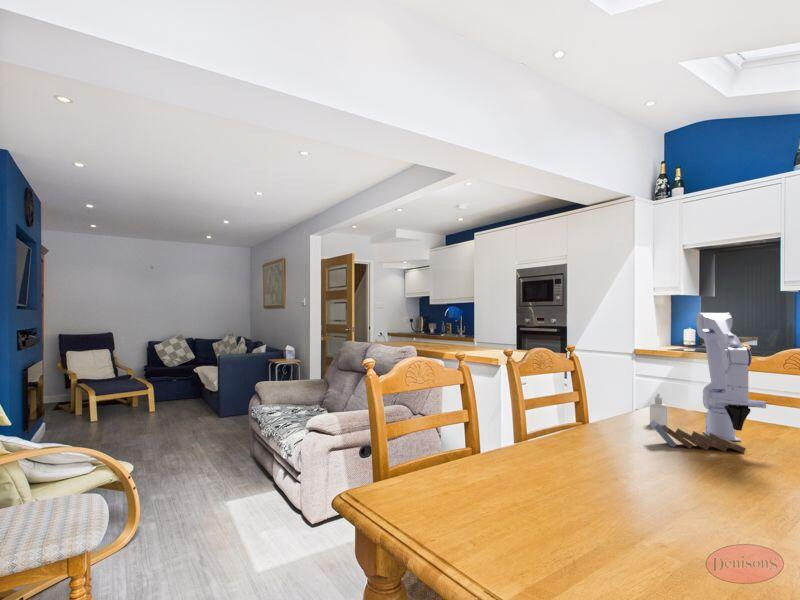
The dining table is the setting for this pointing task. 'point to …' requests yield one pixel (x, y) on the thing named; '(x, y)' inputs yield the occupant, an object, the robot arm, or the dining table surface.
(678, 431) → the domino
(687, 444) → the domino
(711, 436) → the domino
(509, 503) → the dining table surface
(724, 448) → the domino
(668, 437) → the domino
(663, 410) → the eye dropper bottle
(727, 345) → the robot arm
